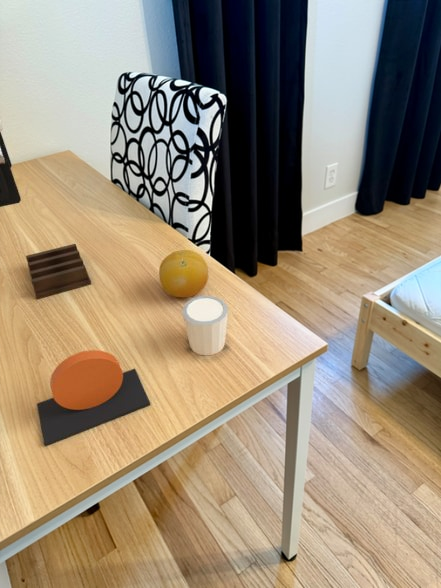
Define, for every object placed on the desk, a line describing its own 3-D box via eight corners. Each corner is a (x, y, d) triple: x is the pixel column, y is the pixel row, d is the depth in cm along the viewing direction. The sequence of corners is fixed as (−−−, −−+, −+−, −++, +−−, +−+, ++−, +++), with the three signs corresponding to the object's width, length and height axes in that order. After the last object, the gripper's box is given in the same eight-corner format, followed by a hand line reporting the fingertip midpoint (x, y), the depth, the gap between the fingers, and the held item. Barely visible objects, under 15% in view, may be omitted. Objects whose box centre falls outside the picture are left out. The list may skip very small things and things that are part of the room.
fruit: (167, 310, 75) (162, 272, 70) (157, 284, 81) (151, 248, 76) (215, 298, 77) (213, 261, 72) (201, 274, 83) (199, 238, 78)
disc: (61, 419, 57) (43, 373, 51) (59, 410, 58) (41, 364, 52) (127, 394, 60) (117, 348, 54) (124, 386, 61) (113, 341, 55)
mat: (45, 446, 54) (44, 443, 54) (37, 406, 59) (36, 403, 59) (150, 405, 59) (150, 402, 59) (135, 371, 64) (134, 368, 64)
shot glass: (177, 349, 67) (173, 315, 63) (199, 323, 72) (196, 290, 68) (216, 364, 65) (214, 330, 60) (236, 335, 69) (235, 302, 65)
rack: (36, 299, 78) (31, 284, 76) (29, 269, 86) (24, 254, 84) (91, 284, 81) (87, 269, 79) (79, 256, 89) (75, 241, 87)
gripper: (-117, -21, 38) (-41, 165, 49) (-153, -15, 26) (-40, 232, 37) (-26, -24, 41) (28, 153, 51) (-19, -20, 29) (50, 212, 39)
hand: (0, 185), depth 44 cm, fingers open, 9 cm apart
